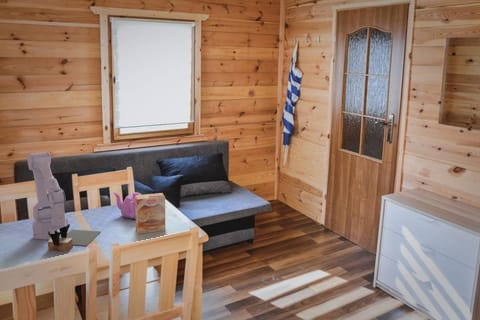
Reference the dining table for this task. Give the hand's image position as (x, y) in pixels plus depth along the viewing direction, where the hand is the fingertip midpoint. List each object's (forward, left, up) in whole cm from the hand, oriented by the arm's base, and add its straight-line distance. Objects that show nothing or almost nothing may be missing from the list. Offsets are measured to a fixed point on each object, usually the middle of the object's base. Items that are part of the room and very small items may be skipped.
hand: (60, 242), depth 227 cm
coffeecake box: (+36, +30, -4) cm, 47 cm away
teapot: (+19, +50, -4) cm, 54 cm away
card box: (0, 0, -4) cm, 4 cm away
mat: (+3, +14, -4) cm, 15 cm away
